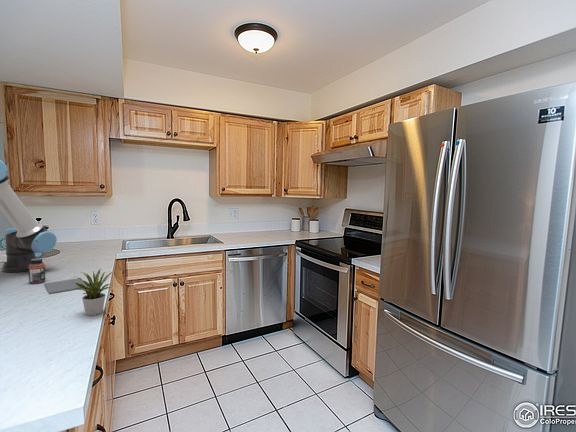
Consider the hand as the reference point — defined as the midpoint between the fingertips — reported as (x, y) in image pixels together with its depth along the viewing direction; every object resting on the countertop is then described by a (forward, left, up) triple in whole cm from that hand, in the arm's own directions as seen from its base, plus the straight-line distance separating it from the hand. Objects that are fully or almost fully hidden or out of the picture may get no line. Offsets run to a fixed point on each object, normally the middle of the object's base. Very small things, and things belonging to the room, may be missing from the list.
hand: (6, 255), depth 129 cm
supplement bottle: (0, +10, -14) cm, 18 cm away
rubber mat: (+14, +19, -14) cm, 28 cm away
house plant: (+55, +23, -14) cm, 62 cm away
